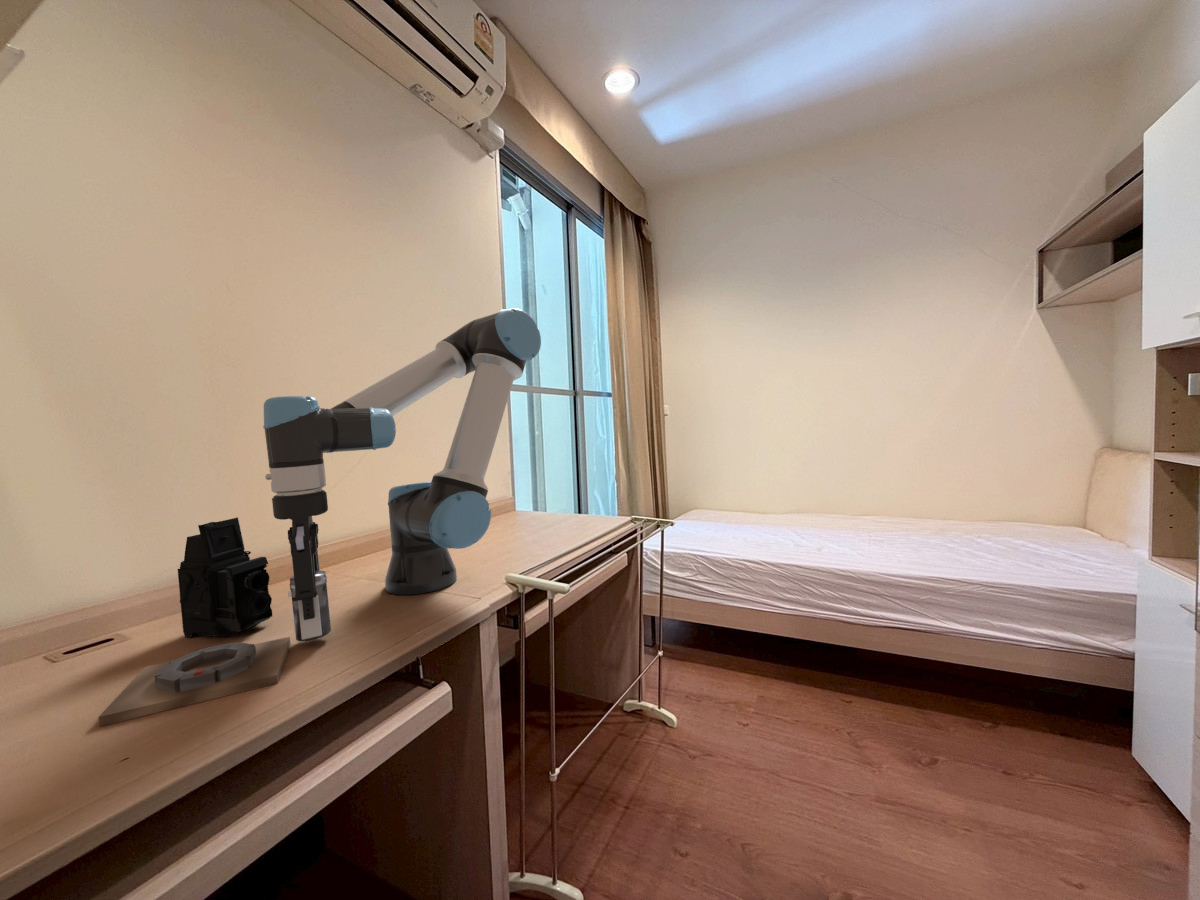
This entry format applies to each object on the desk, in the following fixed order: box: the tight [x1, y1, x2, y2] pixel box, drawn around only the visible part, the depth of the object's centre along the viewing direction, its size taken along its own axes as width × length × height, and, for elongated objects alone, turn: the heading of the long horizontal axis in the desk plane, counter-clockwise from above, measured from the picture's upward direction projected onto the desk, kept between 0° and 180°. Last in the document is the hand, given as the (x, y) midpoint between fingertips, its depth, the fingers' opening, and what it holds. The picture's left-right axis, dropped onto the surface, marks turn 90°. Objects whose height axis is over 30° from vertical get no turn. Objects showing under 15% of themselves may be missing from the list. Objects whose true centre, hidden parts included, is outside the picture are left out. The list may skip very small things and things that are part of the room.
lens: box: [287, 570, 332, 642], centre depth 77 cm, size 6×5×10 cm
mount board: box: [97, 636, 291, 727], centre depth 67 cm, size 18×14×3 cm
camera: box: [177, 517, 273, 639], centre depth 83 cm, size 10×14×20 cm
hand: (313, 629), depth 77 cm, fingers closed on lens, 5 cm apart
